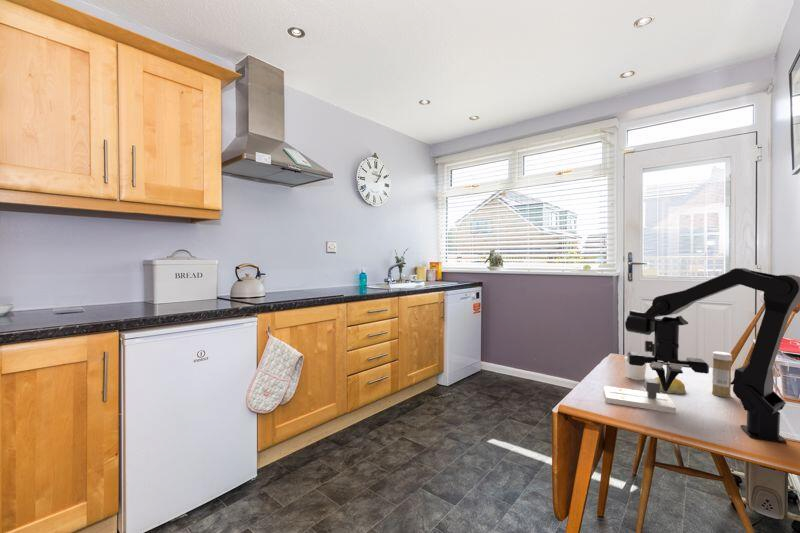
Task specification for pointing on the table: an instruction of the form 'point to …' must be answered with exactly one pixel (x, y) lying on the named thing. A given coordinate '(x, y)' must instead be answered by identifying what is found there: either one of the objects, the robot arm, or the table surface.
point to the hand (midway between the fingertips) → (664, 391)
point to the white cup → (635, 370)
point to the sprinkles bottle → (721, 374)
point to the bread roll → (674, 387)
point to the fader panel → (638, 399)
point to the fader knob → (651, 387)
